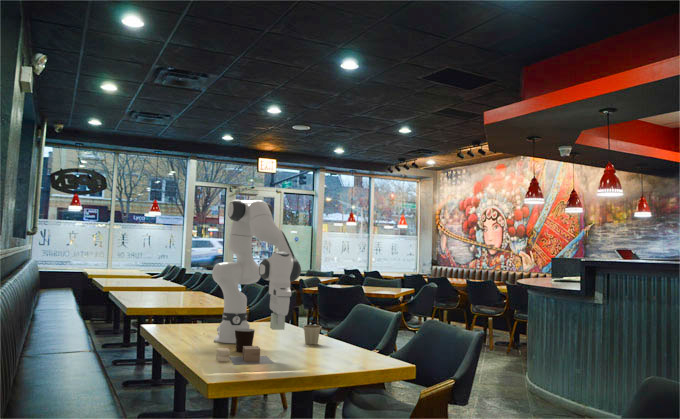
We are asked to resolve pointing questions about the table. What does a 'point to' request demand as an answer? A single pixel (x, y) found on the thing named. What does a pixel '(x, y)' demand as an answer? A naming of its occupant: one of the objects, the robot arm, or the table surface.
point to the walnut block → (251, 353)
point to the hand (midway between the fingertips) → (277, 323)
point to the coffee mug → (243, 338)
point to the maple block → (223, 354)
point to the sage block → (274, 322)
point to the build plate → (240, 361)
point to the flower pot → (311, 334)
